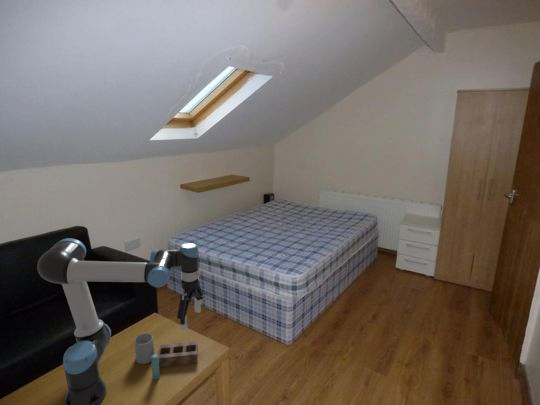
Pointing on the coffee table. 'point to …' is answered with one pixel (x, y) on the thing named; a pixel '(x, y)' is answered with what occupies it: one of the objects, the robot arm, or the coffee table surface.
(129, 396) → the coffee table surface
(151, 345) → the mug
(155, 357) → the peg
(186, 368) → the coffee table surface
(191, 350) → the hole block
